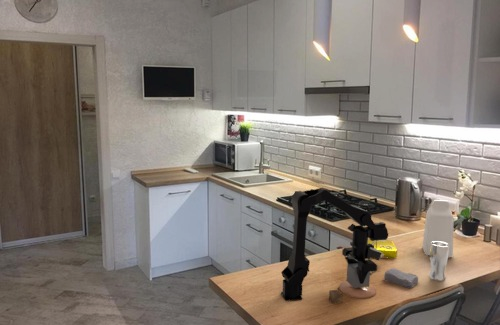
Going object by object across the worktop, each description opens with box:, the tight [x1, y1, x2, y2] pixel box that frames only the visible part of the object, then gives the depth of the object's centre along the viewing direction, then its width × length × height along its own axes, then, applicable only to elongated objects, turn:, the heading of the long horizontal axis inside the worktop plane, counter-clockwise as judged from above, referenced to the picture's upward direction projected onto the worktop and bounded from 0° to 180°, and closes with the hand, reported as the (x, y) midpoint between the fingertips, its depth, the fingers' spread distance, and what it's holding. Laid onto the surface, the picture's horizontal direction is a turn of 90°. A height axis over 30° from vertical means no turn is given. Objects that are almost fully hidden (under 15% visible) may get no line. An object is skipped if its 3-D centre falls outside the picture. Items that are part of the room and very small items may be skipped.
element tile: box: [368, 238, 398, 259], centre depth 212 cm, size 15×15×5 cm
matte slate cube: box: [346, 263, 371, 288], centre depth 169 cm, size 6×6×7 cm
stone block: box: [383, 267, 419, 289], centre depth 179 cm, size 12×5×10 cm
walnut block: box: [328, 289, 343, 304], centre depth 160 cm, size 4×4×4 cm
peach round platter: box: [338, 279, 377, 299], centre depth 170 cm, size 14×14×1 cm
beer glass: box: [428, 241, 449, 282], centre depth 181 cm, size 7×7×15 cm
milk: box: [422, 199, 454, 258], centre depth 211 cm, size 12×12×26 cm
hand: (357, 279), depth 169 cm, fingers closed on matte slate cube, 6 cm apart
